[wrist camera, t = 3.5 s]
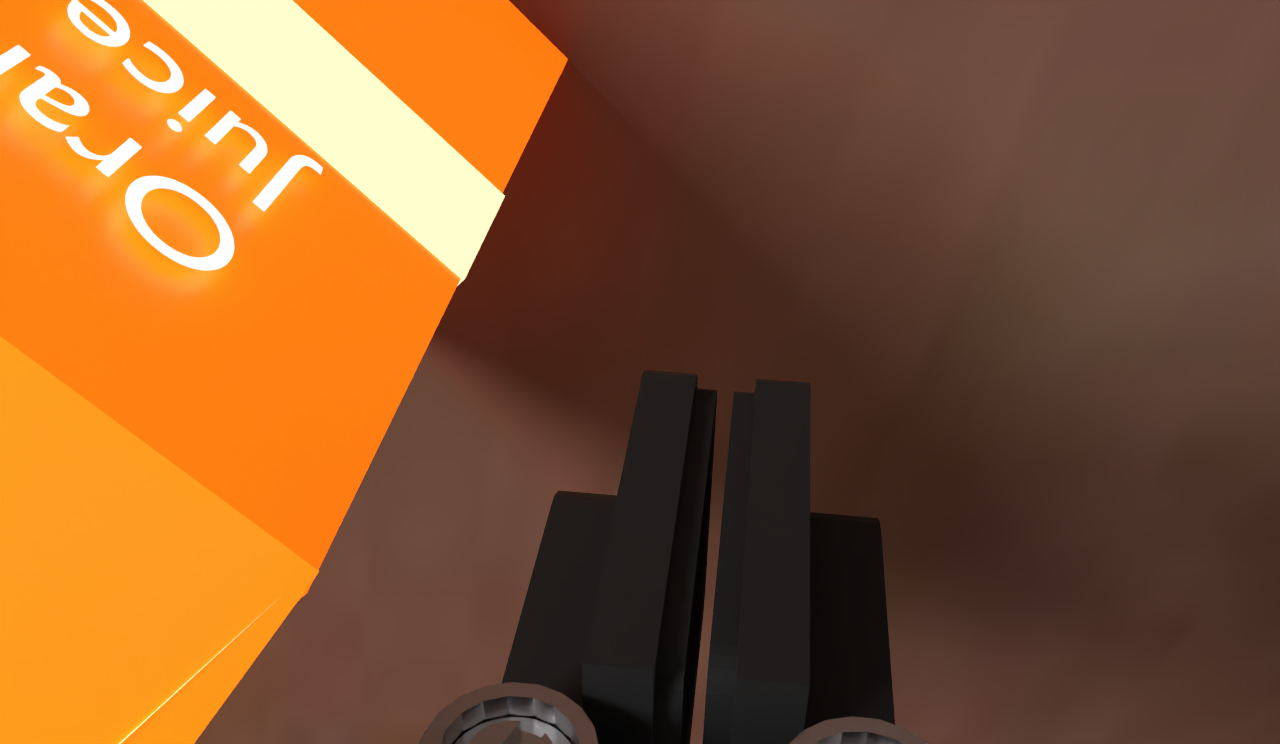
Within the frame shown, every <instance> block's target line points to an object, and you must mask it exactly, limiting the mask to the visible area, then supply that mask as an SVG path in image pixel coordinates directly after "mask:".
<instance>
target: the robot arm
mask: <svg viewBox="0 0 1280 744" xmlns="http://www.w3.org/2000/svg"><path fill="white" fill-rule="evenodd" d="M716 404H717V390H707V389H697V374H684V373H671V372H658V371H644V372H643V376H642V380H641V385H640V390H639V394H638V399H637V404H636V409H635V414H634V418H633V423H632V428H631V433H630V437H629V442H628V447H627V452H626V456H625V461H624V466H623V471H622V476H621V480H620V485H619V490H618V495H617V496H614V495H603V494H591V493H580V492H568V491H558V492H557V493H556V494H555V496H554V499H553V502H552V505H551V508H550V512H549V516H548V519H547V523H546V526H545V530H544V534H543V537H542V541H541V544H540V548H539V552H538V555H537V559H536V562H535V566H534V570H533V573H532V577H531V580H530V584H529V587H528V591H527V595H526V598H525V602H524V605H523V609H522V613H521V616H520V620H519V623H518V627H517V631H516V634H515V638H514V641H513V645H512V649H511V652H510V656H509V659H508V663H507V667H506V670H505V674H504V677H503V681H502V684H496V685H489V686H484V687H482V688H479V689H477V690H474V691H472V692H469V693H467V694H464V695H462V696H460V697H459V698H457V699H456V700H455V701H453V702H452V703H451V704H449V705H448V706H447V707H445V708H444V709H442V710H441V711H440V712H439V713H438V715H437V716H436V717H435V719H434V720H433V721H432V723H431V724H430V725H429V727H428V728H427V729H426V730H425V732H424V734H423V736H422V738H421V740H420V742H419V743H418V744H690V737H691V727H692V717H693V708H694V698H695V688H696V679H697V669H698V659H699V650H700V640H701V631H702V621H703V610H704V598H705V584H706V567H707V551H708V535H709V518H710V502H711V486H712V469H713V453H714V436H715V420H716ZM703 744H929V743H927V742H926V741H924V740H923V739H921V738H920V737H918V736H917V735H915V734H914V733H912V732H910V731H909V730H907V729H905V728H903V727H900V726H897V725H895V719H894V705H893V691H892V677H891V663H890V650H889V636H888V622H887V608H886V594H885V580H884V566H883V552H882V538H881V528H880V522H879V520H878V518H867V517H856V516H844V515H833V514H821V513H810V383H800V382H787V381H774V380H761V379H756V390H755V393H745V392H734V398H733V409H732V419H731V430H730V440H729V451H728V462H727V472H726V483H725V493H724V504H723V515H722V525H721V536H720V546H719V557H718V568H717V578H716V589H715V599H714V610H713V621H712V631H711V642H710V653H709V664H708V677H707V689H706V703H705V719H704V734H703Z"/></svg>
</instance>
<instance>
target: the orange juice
mask: <svg viewBox="0 0 1280 744" xmlns="http://www.w3.org/2000/svg"><path fill="white" fill-rule="evenodd" d="M567 60H568V59H567V58H566V57H565V56H564V55H563V54H562V53H561V52H560V51H559V50H558V49H557V48H556V47H555V46H554V45H553V44H552V43H551V42H550V41H549V40H548V39H547V38H546V37H545V36H544V35H543V34H542V33H541V32H540V31H539V30H538V29H537V28H536V27H535V26H534V25H533V24H532V23H531V22H530V21H529V20H528V19H527V18H526V17H525V16H524V15H523V14H522V13H521V12H520V11H519V10H518V9H517V8H516V7H515V6H514V5H513V4H512V3H511V2H510V1H509V0H0V744H194V743H195V741H196V740H197V738H198V737H199V736H200V734H201V733H202V732H203V730H204V729H205V727H206V726H207V725H208V723H209V722H210V721H211V719H212V718H213V717H214V715H215V714H216V712H217V711H218V710H219V708H220V707H221V706H222V704H223V703H224V701H225V700H226V699H227V697H228V696H229V695H230V693H231V692H232V690H233V689H234V688H235V686H236V685H237V684H238V682H239V681H240V679H241V678H242V677H243V675H244V674H245V673H246V671H247V670H248V669H249V667H250V666H251V664H252V663H253V662H254V660H255V659H256V658H257V656H258V655H259V653H260V652H261V651H262V649H263V648H264V647H265V645H266V644H267V642H268V641H269V640H270V638H271V637H272V636H273V634H274V633H275V631H276V630H277V629H278V627H279V626H280V625H281V623H282V622H283V621H284V619H285V618H286V616H287V615H288V614H289V612H290V611H291V610H292V608H293V607H294V605H295V604H296V603H297V601H298V600H299V599H300V598H301V597H303V596H304V595H305V594H306V593H307V592H308V590H309V588H310V586H311V584H312V582H313V580H314V578H315V577H316V575H317V574H318V573H319V571H318V569H319V567H320V565H321V563H322V561H323V559H324V557H325V555H326V553H327V551H328V549H329V547H330V545H331V543H332V541H333V539H334V537H335V535H336V533H337V531H338V529H339V527H340V524H341V522H342V520H343V518H344V516H345V514H346V512H347V510H348V508H349V506H350V504H351V502H352V500H353V498H354V496H355V494H356V492H357V490H358V488H359V486H360V484H361V482H362V479H363V477H364V475H365V473H366V471H367V469H368V467H369V465H370V463H371V461H372V459H373V457H374V455H375V453H376V451H377V449H378V447H379V445H380V443H381V441H382V439H383V437H384V435H385V432H386V430H387V428H388V426H389V424H390V422H391V420H392V418H393V416H394V414H395V412H396V410H397V408H398V406H399V404H400V402H401V400H402V398H403V396H404V394H405V392H406V390H407V387H408V385H409V383H410V381H411V379H412V377H413V375H414V373H415V371H416V369H417V367H418V365H419V363H420V361H421V359H422V357H423V355H424V353H425V351H426V349H427V347H428V345H429V342H430V340H431V338H432V336H433V334H434V332H435V330H436V328H437V326H438V324H439V322H440V320H441V318H442V316H443V314H444V312H445V310H446V308H447V306H448V304H449V302H450V300H451V298H452V295H453V293H454V291H455V289H456V287H457V286H458V285H459V284H460V283H461V282H462V281H463V280H464V279H465V278H466V276H467V274H468V272H469V269H470V267H471V265H472V263H473V261H474V259H475V257H476V255H477V253H478V251H479V249H480V247H481V245H482V243H483V241H484V238H485V236H486V234H487V232H488V230H489V228H490V226H491V224H492V222H493V220H494V218H495V216H496V214H497V212H498V209H499V207H500V205H501V203H502V201H503V199H504V197H505V195H504V194H502V193H503V191H504V189H505V187H506V185H507V183H508V181H509V179H510V177H511V175H512V173H513V171H514V169H515V167H516V165H517V163H518V161H519V158H520V156H521V154H522V152H523V150H524V148H525V146H526V144H527V142H528V140H529V138H530V136H531V134H532V132H533V130H534V128H535V126H536V124H537V122H538V120H539V118H540V116H541V113H542V111H543V109H544V107H545V105H546V103H547V101H548V99H549V97H550V95H551V93H552V91H553V89H554V87H555V85H556V83H557V81H558V79H559V77H560V75H561V73H562V71H563V68H564V66H565V64H566V62H567Z"/></svg>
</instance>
